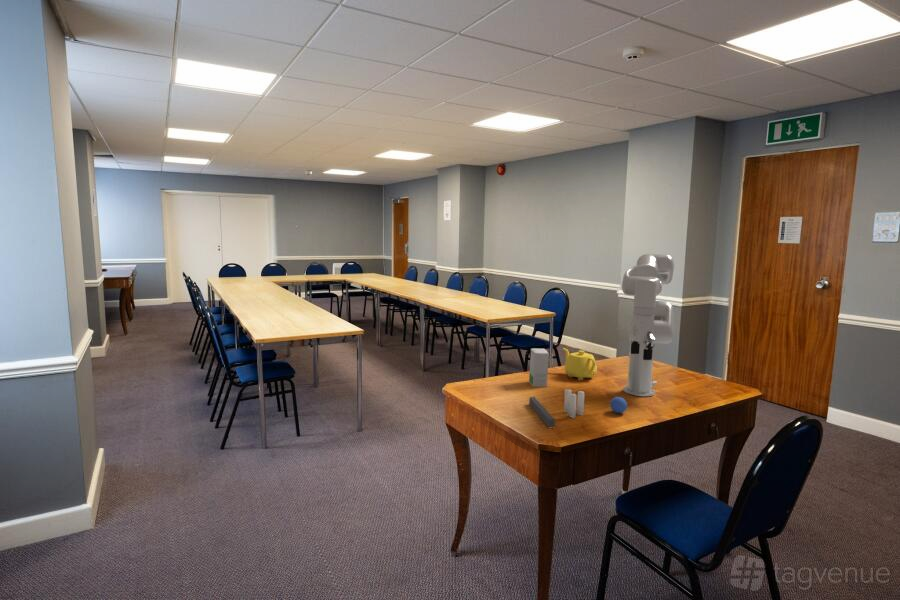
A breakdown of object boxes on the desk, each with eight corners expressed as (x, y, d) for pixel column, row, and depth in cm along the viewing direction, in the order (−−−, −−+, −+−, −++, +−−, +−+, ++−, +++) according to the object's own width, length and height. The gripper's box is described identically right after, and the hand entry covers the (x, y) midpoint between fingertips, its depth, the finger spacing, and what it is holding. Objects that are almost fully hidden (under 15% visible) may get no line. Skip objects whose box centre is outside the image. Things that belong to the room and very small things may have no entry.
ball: (616, 408, 189) (617, 393, 189) (629, 413, 184) (630, 398, 184) (606, 411, 186) (607, 396, 186) (619, 416, 181) (620, 401, 180)
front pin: (579, 412, 185) (581, 390, 184) (584, 414, 183) (585, 392, 182) (575, 413, 184) (576, 391, 183) (580, 415, 182) (581, 393, 181)
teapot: (584, 384, 221) (585, 356, 219) (552, 373, 237) (553, 347, 236) (604, 379, 228) (606, 352, 226) (572, 369, 245) (573, 344, 243)
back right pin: (567, 410, 187) (568, 388, 186) (571, 412, 185) (572, 390, 184) (562, 411, 186) (563, 389, 185) (567, 413, 184) (568, 391, 183)
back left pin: (572, 415, 182) (573, 393, 181) (576, 417, 180) (577, 394, 179) (567, 416, 181) (568, 394, 180) (572, 418, 179) (573, 395, 178)
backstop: (534, 404, 194) (534, 396, 193) (554, 427, 170) (554, 419, 170) (529, 404, 193) (529, 396, 193) (548, 428, 170) (549, 419, 169)
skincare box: (528, 381, 223) (530, 348, 221) (543, 381, 224) (544, 348, 222) (533, 387, 215) (534, 352, 213) (548, 387, 216) (549, 352, 214)
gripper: (623, 308, 191) (621, 351, 193) (645, 315, 174) (642, 362, 176) (642, 308, 192) (639, 351, 193) (665, 315, 174) (662, 362, 176)
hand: (640, 356), depth 185 cm, fingers open, 9 cm apart
